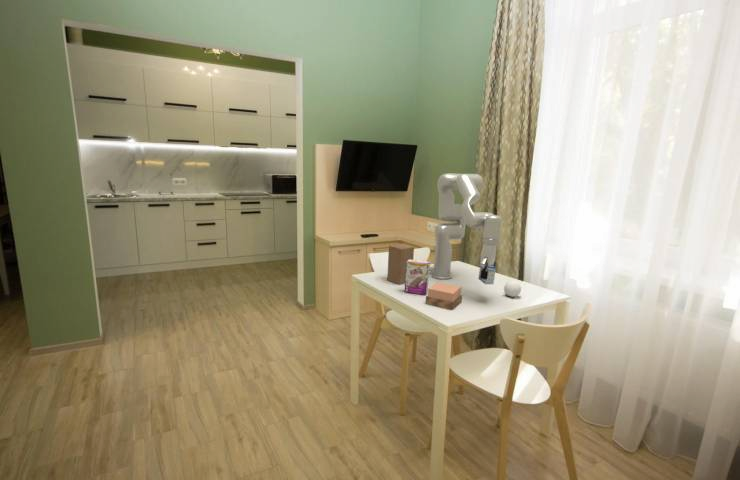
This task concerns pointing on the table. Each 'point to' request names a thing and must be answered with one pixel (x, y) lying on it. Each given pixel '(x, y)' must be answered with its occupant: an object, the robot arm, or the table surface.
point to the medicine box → (490, 275)
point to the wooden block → (398, 262)
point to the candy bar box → (417, 277)
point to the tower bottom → (443, 302)
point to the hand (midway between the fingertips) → (486, 276)
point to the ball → (512, 288)
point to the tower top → (444, 292)
